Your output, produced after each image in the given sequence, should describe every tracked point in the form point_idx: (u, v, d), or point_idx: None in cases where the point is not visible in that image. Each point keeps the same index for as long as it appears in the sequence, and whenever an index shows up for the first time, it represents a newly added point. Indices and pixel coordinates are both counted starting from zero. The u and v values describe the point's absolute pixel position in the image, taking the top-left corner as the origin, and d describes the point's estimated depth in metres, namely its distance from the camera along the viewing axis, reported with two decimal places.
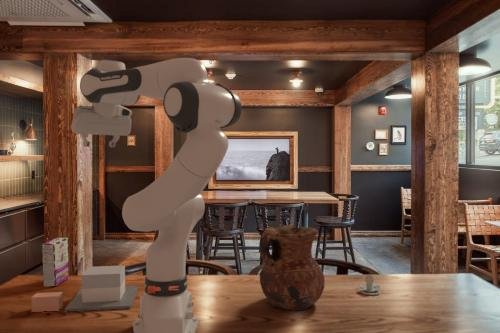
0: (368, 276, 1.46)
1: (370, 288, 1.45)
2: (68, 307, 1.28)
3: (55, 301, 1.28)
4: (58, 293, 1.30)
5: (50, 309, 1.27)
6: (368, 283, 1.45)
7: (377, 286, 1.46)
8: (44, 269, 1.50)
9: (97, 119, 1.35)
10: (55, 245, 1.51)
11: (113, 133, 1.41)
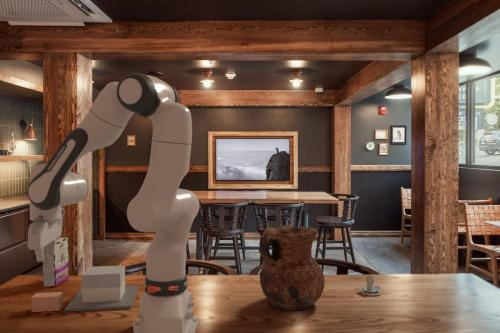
0: (368, 276, 1.45)
1: (370, 289, 1.45)
2: (68, 307, 1.28)
3: (56, 301, 1.28)
4: (58, 293, 1.30)
5: (50, 309, 1.27)
6: (368, 284, 1.45)
7: (378, 286, 1.46)
8: (44, 269, 1.50)
9: (47, 227, 1.26)
10: (55, 245, 1.51)
11: (55, 237, 1.32)
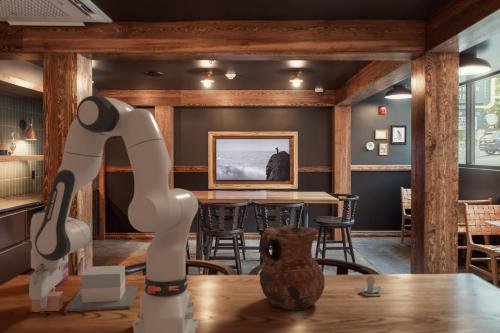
0: (369, 277, 1.44)
1: (371, 289, 1.44)
2: (68, 307, 1.28)
3: (56, 300, 1.28)
4: (58, 293, 1.30)
5: (50, 309, 1.27)
6: (369, 284, 1.44)
7: (378, 287, 1.45)
8: None
9: (48, 275, 1.26)
10: None
11: (56, 283, 1.33)
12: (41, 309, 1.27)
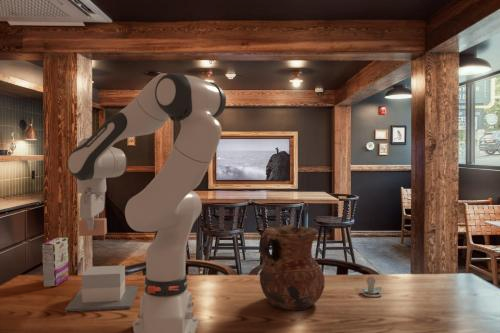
0: (370, 278, 1.44)
1: (372, 290, 1.43)
2: (68, 307, 1.28)
3: (101, 224, 1.34)
4: (103, 218, 1.37)
5: (96, 232, 1.34)
6: (370, 285, 1.43)
7: (379, 288, 1.44)
8: (44, 269, 1.50)
9: (95, 200, 1.33)
10: (55, 245, 1.51)
11: (100, 211, 1.39)
12: (88, 232, 1.33)
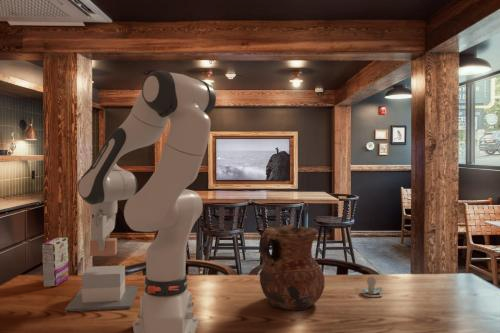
0: (370, 278, 1.43)
1: (372, 290, 1.43)
2: (68, 307, 1.28)
3: (112, 245, 1.36)
4: (113, 238, 1.39)
5: (107, 252, 1.36)
6: (370, 285, 1.43)
7: (379, 288, 1.44)
8: (44, 269, 1.50)
9: (106, 221, 1.35)
10: (55, 245, 1.51)
11: (111, 230, 1.41)
12: (98, 252, 1.36)
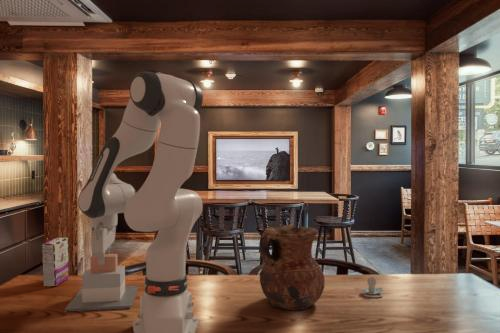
0: (370, 278, 1.43)
1: (372, 290, 1.43)
2: (68, 307, 1.28)
3: (112, 261, 1.36)
4: (114, 254, 1.39)
5: (107, 268, 1.36)
6: (370, 285, 1.43)
7: (379, 288, 1.44)
8: (44, 269, 1.50)
9: (106, 233, 1.35)
10: (55, 245, 1.51)
11: (111, 242, 1.41)
12: (99, 269, 1.36)
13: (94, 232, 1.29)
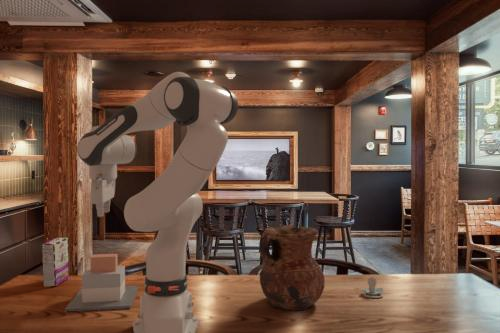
0: (371, 278, 1.43)
1: (373, 291, 1.42)
2: (68, 307, 1.28)
3: (112, 261, 1.36)
4: (114, 254, 1.39)
5: (107, 268, 1.36)
6: (371, 286, 1.42)
7: (380, 289, 1.43)
8: (44, 269, 1.50)
9: (106, 186, 1.35)
10: (55, 245, 1.51)
11: (110, 197, 1.41)
12: (99, 269, 1.36)
13: (93, 182, 1.28)
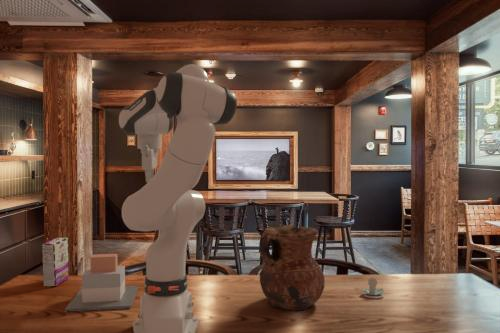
0: (371, 279, 1.42)
1: (373, 291, 1.42)
2: (68, 307, 1.28)
3: (112, 261, 1.36)
4: (114, 254, 1.39)
5: (107, 268, 1.36)
6: (371, 286, 1.42)
7: (380, 289, 1.43)
8: (44, 269, 1.50)
9: None
10: (55, 245, 1.51)
11: (155, 166, 1.56)
12: (99, 269, 1.36)
13: (144, 150, 1.44)
